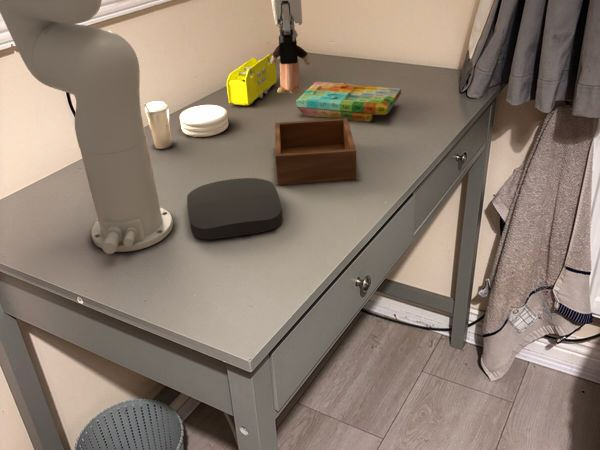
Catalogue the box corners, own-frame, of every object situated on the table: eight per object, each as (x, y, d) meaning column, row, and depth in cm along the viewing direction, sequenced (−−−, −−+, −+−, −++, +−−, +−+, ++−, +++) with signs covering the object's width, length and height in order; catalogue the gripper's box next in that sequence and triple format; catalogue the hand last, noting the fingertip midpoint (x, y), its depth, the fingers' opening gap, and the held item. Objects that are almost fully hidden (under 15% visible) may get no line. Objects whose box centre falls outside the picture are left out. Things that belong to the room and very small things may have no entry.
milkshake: (144, 150, 127) (135, 102, 122) (161, 139, 131) (153, 93, 126) (162, 153, 125) (153, 105, 120) (179, 143, 129) (171, 95, 124)
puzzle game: (314, 78, 144) (401, 84, 138) (315, 98, 147) (400, 105, 140) (295, 96, 135) (387, 104, 128) (296, 117, 138) (387, 126, 131)
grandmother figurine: (271, 95, 121) (265, 29, 114) (273, 87, 125) (267, 22, 117) (311, 94, 121) (307, 27, 113) (312, 86, 124) (309, 21, 117)
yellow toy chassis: (250, 108, 143) (246, 72, 139) (228, 106, 145) (223, 70, 141) (278, 85, 156) (276, 51, 151) (257, 83, 158) (254, 49, 153)
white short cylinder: (232, 133, 132) (231, 117, 130) (185, 141, 130) (182, 125, 128) (224, 116, 140) (222, 101, 138) (178, 123, 138) (176, 108, 136)
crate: (356, 179, 112) (356, 150, 109) (277, 185, 111) (275, 156, 109) (347, 144, 124) (347, 117, 121) (277, 149, 124) (274, 122, 121)
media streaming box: (192, 245, 97) (189, 228, 95) (187, 199, 109) (185, 184, 107) (287, 230, 99) (285, 214, 97) (272, 187, 111) (270, 172, 109)
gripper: (305, -39, 103) (311, 72, 112) (302, -54, 117) (306, 46, 126) (259, -36, 103) (268, 75, 112) (261, -52, 117) (269, 48, 126)
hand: (288, 59), depth 119 cm, fingers closed on grandmother figurine, 3 cm apart
